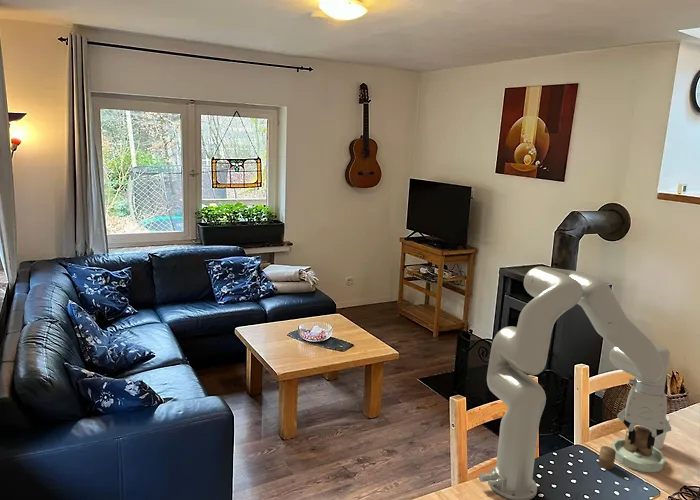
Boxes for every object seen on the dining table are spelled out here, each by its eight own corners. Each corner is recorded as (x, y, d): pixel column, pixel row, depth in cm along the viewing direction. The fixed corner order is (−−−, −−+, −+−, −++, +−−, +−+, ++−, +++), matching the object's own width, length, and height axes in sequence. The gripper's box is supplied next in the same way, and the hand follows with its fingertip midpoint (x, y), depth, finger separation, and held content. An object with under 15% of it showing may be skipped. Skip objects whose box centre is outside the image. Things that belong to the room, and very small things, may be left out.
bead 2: (632, 446, 154) (634, 430, 153) (632, 439, 158) (635, 424, 157) (647, 450, 152) (650, 434, 151) (648, 444, 156) (650, 428, 155)
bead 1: (605, 470, 152) (607, 454, 152) (595, 462, 156) (597, 446, 155) (616, 468, 154) (618, 453, 153) (606, 460, 157) (608, 445, 156)
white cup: (668, 452, 163) (673, 422, 161) (641, 448, 165) (645, 419, 163) (659, 439, 171) (664, 410, 169) (633, 435, 172) (637, 407, 170)
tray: (635, 475, 151) (638, 456, 149) (600, 448, 164) (603, 430, 163) (674, 469, 154) (678, 450, 153) (637, 443, 168) (640, 426, 166)
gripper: (615, 384, 152) (607, 442, 156) (683, 399, 144) (673, 460, 148) (617, 375, 158) (609, 430, 162) (682, 389, 150) (673, 447, 154)
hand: (640, 444), depth 155 cm, fingers closed on bead 2, 4 cm apart
